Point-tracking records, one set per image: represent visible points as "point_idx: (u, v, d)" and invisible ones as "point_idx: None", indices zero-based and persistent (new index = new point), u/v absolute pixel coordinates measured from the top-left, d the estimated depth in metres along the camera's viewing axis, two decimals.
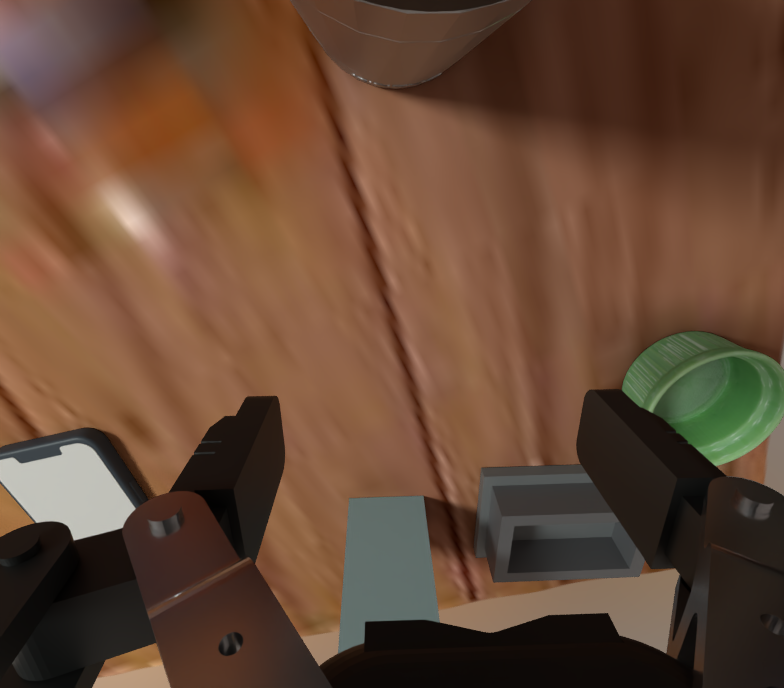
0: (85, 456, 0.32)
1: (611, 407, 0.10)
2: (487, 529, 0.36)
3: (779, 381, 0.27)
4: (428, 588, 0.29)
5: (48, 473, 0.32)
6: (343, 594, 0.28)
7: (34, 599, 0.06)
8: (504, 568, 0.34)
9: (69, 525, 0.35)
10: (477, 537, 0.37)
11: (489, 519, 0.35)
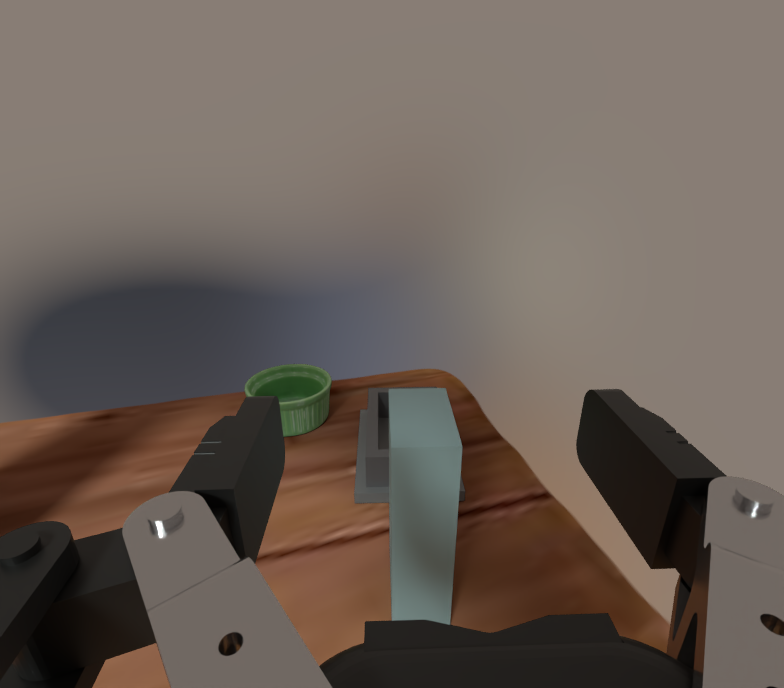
0: None
1: (611, 407, 0.10)
2: None
3: (274, 370, 0.50)
4: None
5: None
6: (391, 522, 0.24)
7: (34, 598, 0.06)
8: None
9: None
10: None
11: None
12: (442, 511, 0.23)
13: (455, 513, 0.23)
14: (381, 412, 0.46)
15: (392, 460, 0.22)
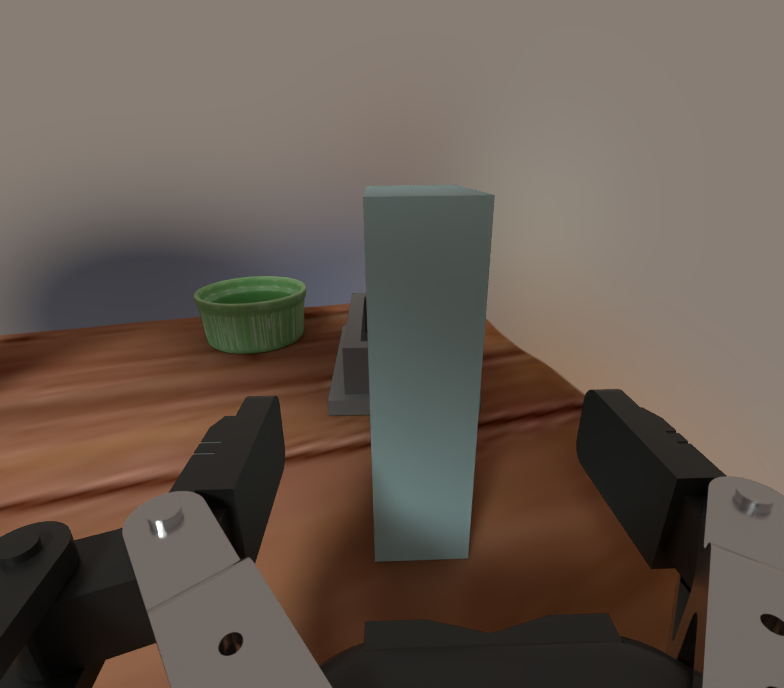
0: None
1: (611, 407, 0.10)
2: None
3: (236, 282, 0.40)
4: None
5: None
6: (368, 361, 0.14)
7: (34, 599, 0.06)
8: None
9: None
10: None
11: None
12: (456, 338, 0.13)
13: (479, 342, 0.13)
14: None
15: (366, 226, 0.12)
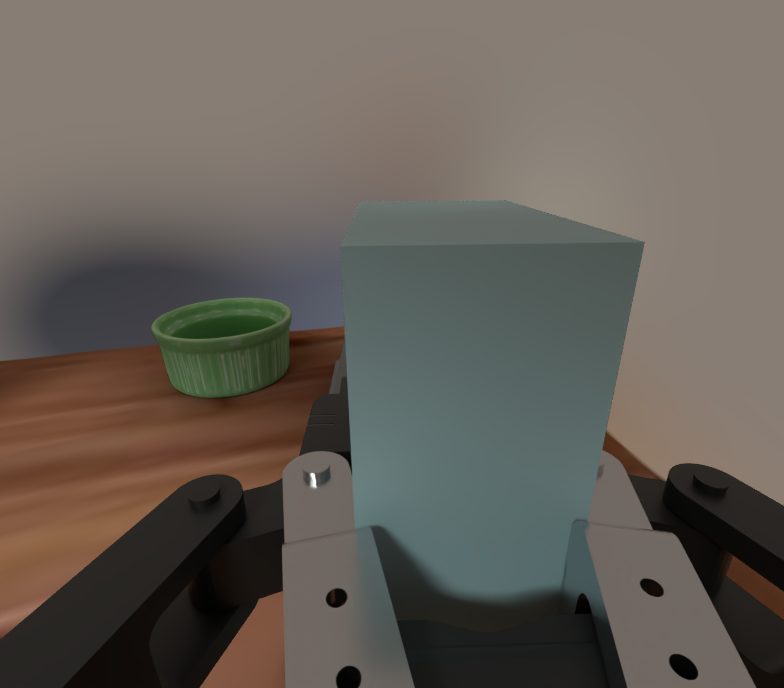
0: None
1: None
2: None
3: (209, 305, 0.34)
4: None
5: None
6: None
7: (204, 544, 0.07)
8: None
9: None
10: None
11: None
12: (531, 519, 0.07)
13: None
14: None
15: (348, 309, 0.05)
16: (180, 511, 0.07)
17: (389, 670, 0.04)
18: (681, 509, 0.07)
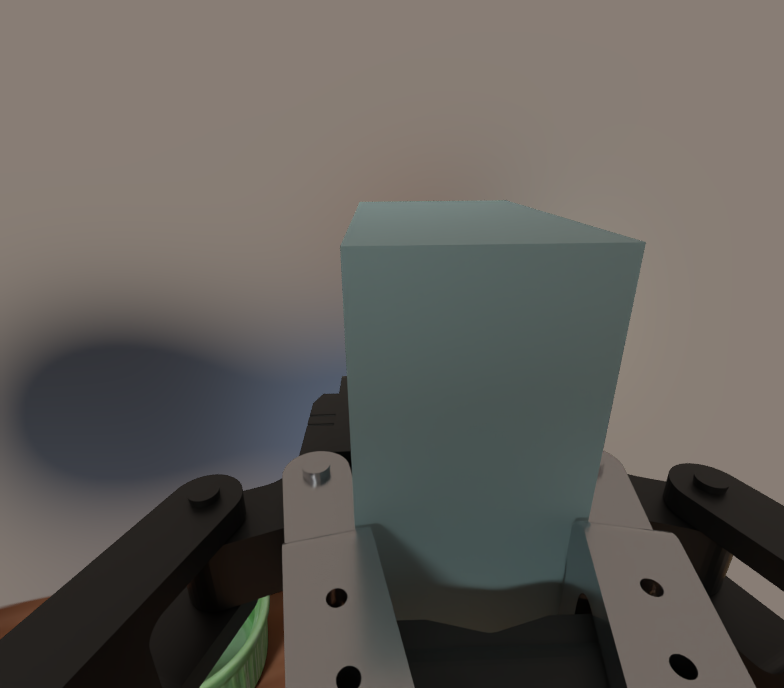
0: None
1: None
2: None
3: None
4: None
5: None
6: None
7: (204, 544, 0.07)
8: None
9: None
10: None
11: None
12: (532, 520, 0.07)
13: None
14: None
15: (349, 309, 0.05)
16: (180, 511, 0.07)
17: (389, 670, 0.04)
18: (681, 509, 0.07)
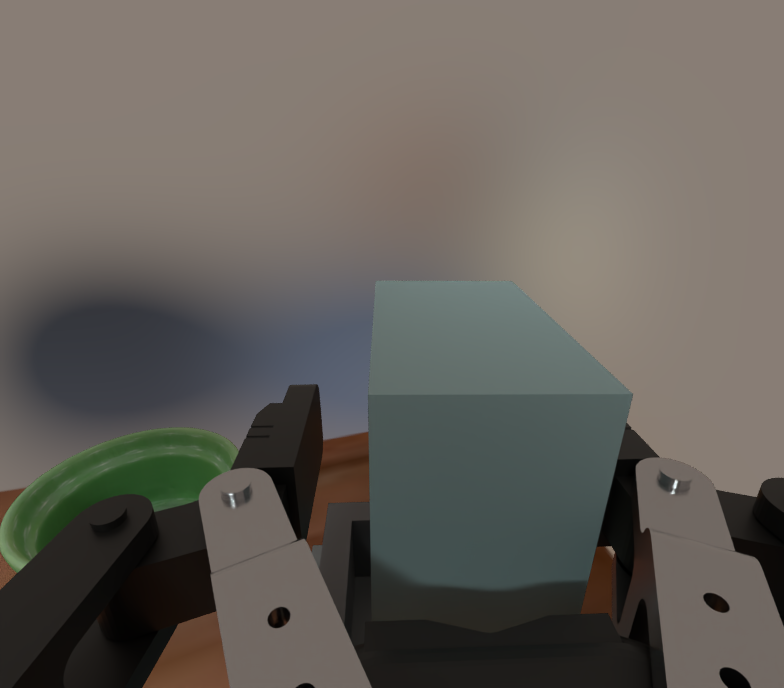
0: None
1: None
2: None
3: (123, 443, 0.22)
4: None
5: None
6: None
7: (116, 567, 0.06)
8: None
9: None
10: None
11: None
12: (530, 610, 0.07)
13: None
14: (362, 565, 0.18)
15: (373, 443, 0.06)
16: (82, 538, 0.07)
17: (344, 676, 0.04)
18: (770, 521, 0.07)
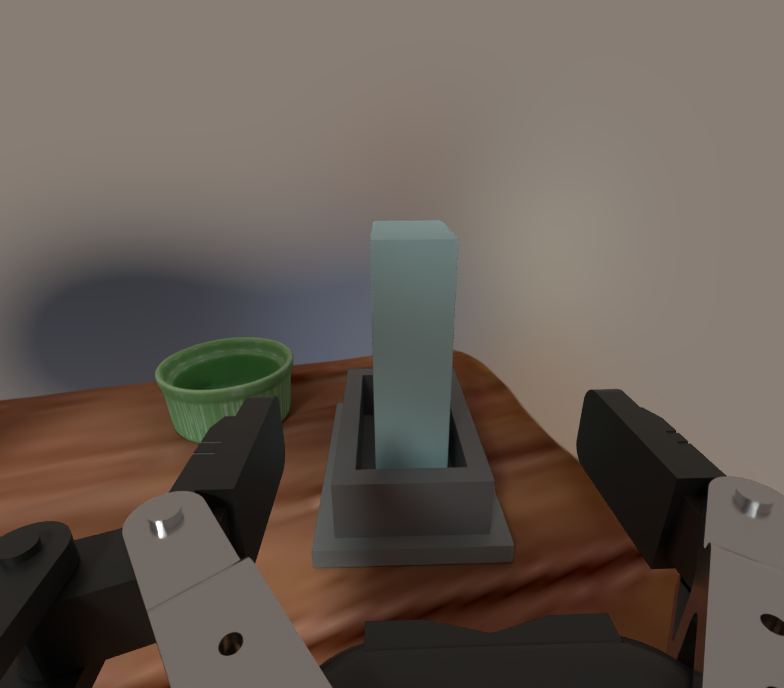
0: None
1: (611, 407, 0.10)
2: (434, 533, 0.20)
3: (212, 345, 0.34)
4: None
5: None
6: None
7: (34, 599, 0.06)
8: (455, 471, 0.20)
9: None
10: (460, 547, 0.20)
11: (404, 530, 0.20)
12: (434, 335, 0.19)
13: (450, 338, 0.19)
14: (368, 406, 0.30)
15: (371, 259, 0.18)
16: None
17: None
18: None
